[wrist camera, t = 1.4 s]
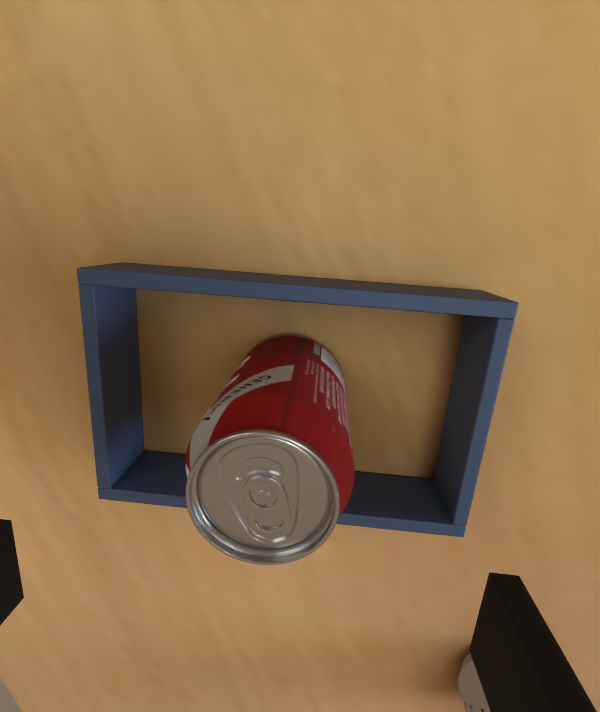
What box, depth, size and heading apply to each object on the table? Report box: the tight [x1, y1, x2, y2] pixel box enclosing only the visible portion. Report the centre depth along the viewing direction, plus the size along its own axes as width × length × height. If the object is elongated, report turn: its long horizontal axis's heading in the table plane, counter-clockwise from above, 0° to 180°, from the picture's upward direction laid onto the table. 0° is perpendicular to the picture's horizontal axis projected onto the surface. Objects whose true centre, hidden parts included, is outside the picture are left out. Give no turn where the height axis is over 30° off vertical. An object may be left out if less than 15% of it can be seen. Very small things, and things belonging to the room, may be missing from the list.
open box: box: [77, 262, 518, 537], centre depth 23 cm, size 14×22×4 cm, turn 86°
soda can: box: [186, 335, 354, 565], centre depth 20 cm, size 7×7×12 cm
